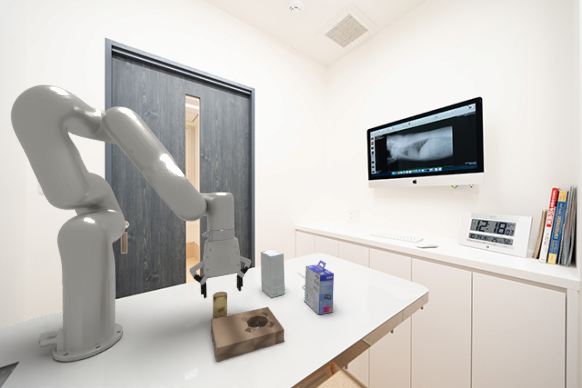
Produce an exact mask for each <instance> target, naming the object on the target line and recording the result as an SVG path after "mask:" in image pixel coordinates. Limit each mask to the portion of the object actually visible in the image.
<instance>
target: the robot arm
mask: <svg viewBox="0 0 582 388" xmlns="http://www.w3.org/2000/svg"><path fill="white" fill-rule="evenodd" d="M10 122H11V125H12V129H13V132H14V134H15V136H16V138H17V140H18V142H19V144H20V145H21V148H22V149H23V152H24V153H25V156H26V158H27V159H28V162H29V164H30V168H31V169H32V172H33V173H34V176H35V178H36V180H37V182H38V184H39V187H40V188H41V191H42V192H43V195H44V197H45V198H46V200H47V202H48V203H49V204H50V205H51V206H53V207H54V208H57V209H59V210H64V211H65V210H66V211H70V210H71V211H72V210H74V211H75V213H76V215H75V216H73V217H71V218H69V219H68V220H67V221H65V222H64V223H63V225H62V226H61V227H60V228H59V230H58V232H57V237H56V240H57V241H56V243H57V248H58V253H59V256H60V263H61V277H62V278H61V283H62V328H59V329H58V330H56V331H49V332H47V331H46V332H44V333H40V335H39V338H38V343H39V347H40V348H44V347H48V346H51V345H54V347H53V349H52V357H54V358H53V359H54V360H55V359H56V360H55V361H58V360H59V361H58V362H75V361H79V360H84V359H87V358H90V357H92V356H94V355H97V354H100V353H102V352H103V351H106V350H107V349H109V348H111V347H112V346H113V345H115V344H116V343H117V342H118V341H119V340H121V338H122V336H123V334H124V329H123V328H124V327H123V326H122V325H120V324H119V323H116V259H115V254H114V253H115V252H114V248H113V243H114V242H116V241H119V239H120V238H121V237H122V236H123V235H124V233H125V231H126V226H127V222H126V220H125V216H124V213H123V212H122V209H121V207H120V205H119V203H118V201H117V198H116V196H115V193H114V192H113V191H114V190H113V189H112V187H111V185H110V184H109V182H108V181H107V180H106V179H105V178H104V177H102V176H100V175H99V174H96V173H93V172H89V170H88V169H87V166H86V165H85V163H84V160H83V159H82V157H81V152H80V151H79V149H78V147H77V146H76V144H75V143H74V141H73V140H72V138H71V136H70V134H72V135H75V136H77V137H81V138H84V139H89V140H93V141H97V142H98V141H99V142H104V143H107V144H108V143H109V144H113V145H117V147H118V148H119V149H120V150H121V151H122V152H123V153H124V155H125V156H126V157H127V158H128V159H129V161H131V163H132V164H133V165H134V166H135V167H136V168H137V170H138V171H139V172H140V173H141V175H142V176H143V178H144V179H145V180H146V181H147V183H149V185H150V186H151V187H152V189H153V190H154V191H155V193H156V194H157V195H158V196H159V198H160V199H161V200H162V201H163V202H164V203H165V205H166V206H167V207H168V208H169V209H170V210H171V211H172V212H173V213H174V215H176V216H177V217H178V218H179V219H181V220H182V221H185V222H190V223H191V222H196V221H199V220H200V219H201V218H202V217H206V219H207V220H206V226H207V227H206V231H203V232H201V236H202V238H206V239H205V240H204V247H203V255H202V260H201V261H200V262H198V263H197V264H195V265H193V266H191V267H190V268H189V273H190V275H191V277H193V279H194V281H197V283H199V285H200V295H203V299H207V297H208V295H207V294H208V291H207V290H208V289H207V281H208V279H210V278H218V277H224V276H229V275H235V274H237V275H236V288H237V291H239V292H241V291H242V287H244V277H245V275H246V273H247V272H248V271H249V268H250V266H251V264H252V260H251V259H249V258H247V257H244V256H242V255H241V252H240V244H239V239H238V238H237V237H236V236H235V235H236V234H235V233H236V232H235V198H234V194H233V193H231V192H226V191H225V192H224V191H220V192H219V191H216V192H215V191H214V192H210V193H205V192H199V191H198V190H197V188H196V187H195V186H194V185H193V184H192V183H191V182H190V181H191V180H190V179H188V178H187V176H186V175H185V174H184V172H183V171H182V170H181V169H180V167H179V166H178V164H177V162H176V160H175V158H174V157H173V155H172V154H171V152H169V151H168V149H167V148H166V146H164V144H163V143H162V142H161V141H160V140H159V138H158V136H156V134H154V132H153V131H152V129H150V127H149V126H148V125H147V123H146V122H145V121H144V120H143V118H141V116H140V115H139V114H138V113H137V112H135V111H134V110H132V109H130V108H128V107H125V106H120V105H119V106H118V105H117V106H113V107H109V108H108V109H106V110H102V109H97V108H95V107H92V106H90V105H89V104H88V103H86V101H84V100H83V99H81V98H80V97H78V96H77V95H76V94H74V93H72V92H70V91H69V90H66V89H64V88H62V87H59V86H55V85H52V84H51V85H50V84H39V85H34V86H31V87H29V88H27V89H25V90H23V92H22V91H21V93H20V94H19V95H18V96H17V97H16V99H15V101H14V102H13V103H12V107H11V111H10ZM69 133H70V134H69ZM241 262H242V263H244V266H243V267H242V263H241ZM200 269H203V270H202V271H203V274H199V273H197V271H198V270H200Z"/></svg>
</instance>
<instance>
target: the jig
mask: <svg viewBox="0 0 582 388" xmlns="http://www.w3.org/2000/svg"><path fill="white" fill-rule="evenodd" d="M256 327H257V328H256ZM210 333H211V338H212V339H211V340H212V342H213V343H212V345H213V348H214V354H215V361H216V362H220V361H225V360H228V359H231V358H234V357H237V356H241V355H245V354H248V353H250V352H255V351H257V350H261V349H264V348H267V347H270V346H274V345H277V344H281V343H283V342H285V329H284V327H283V326H282V324H281V323H280V322H279V320H278V319H277V317H276V316H275V315H274V313H273V312H272V311H271V309H270V307H269V306H266V307H261V308H257V309H252V310H248V311H244V312H239V313H235V314H234V313H233V314H229V315H227V316H225V317H220V318H216V319H213V318H212V319H210Z"/></svg>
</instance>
